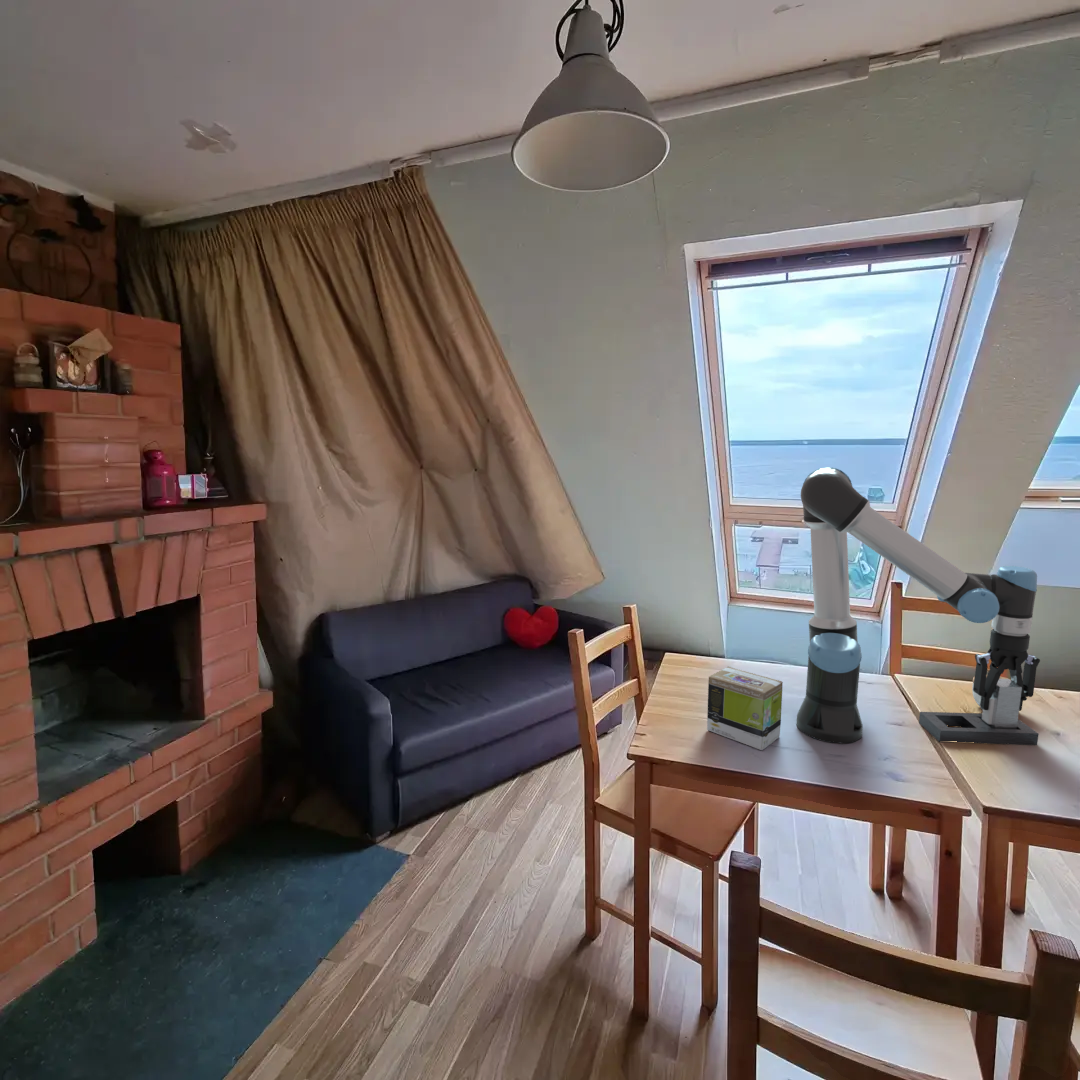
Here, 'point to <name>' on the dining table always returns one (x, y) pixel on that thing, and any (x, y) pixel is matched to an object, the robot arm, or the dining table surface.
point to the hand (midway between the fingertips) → (999, 721)
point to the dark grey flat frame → (974, 729)
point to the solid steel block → (1005, 705)
